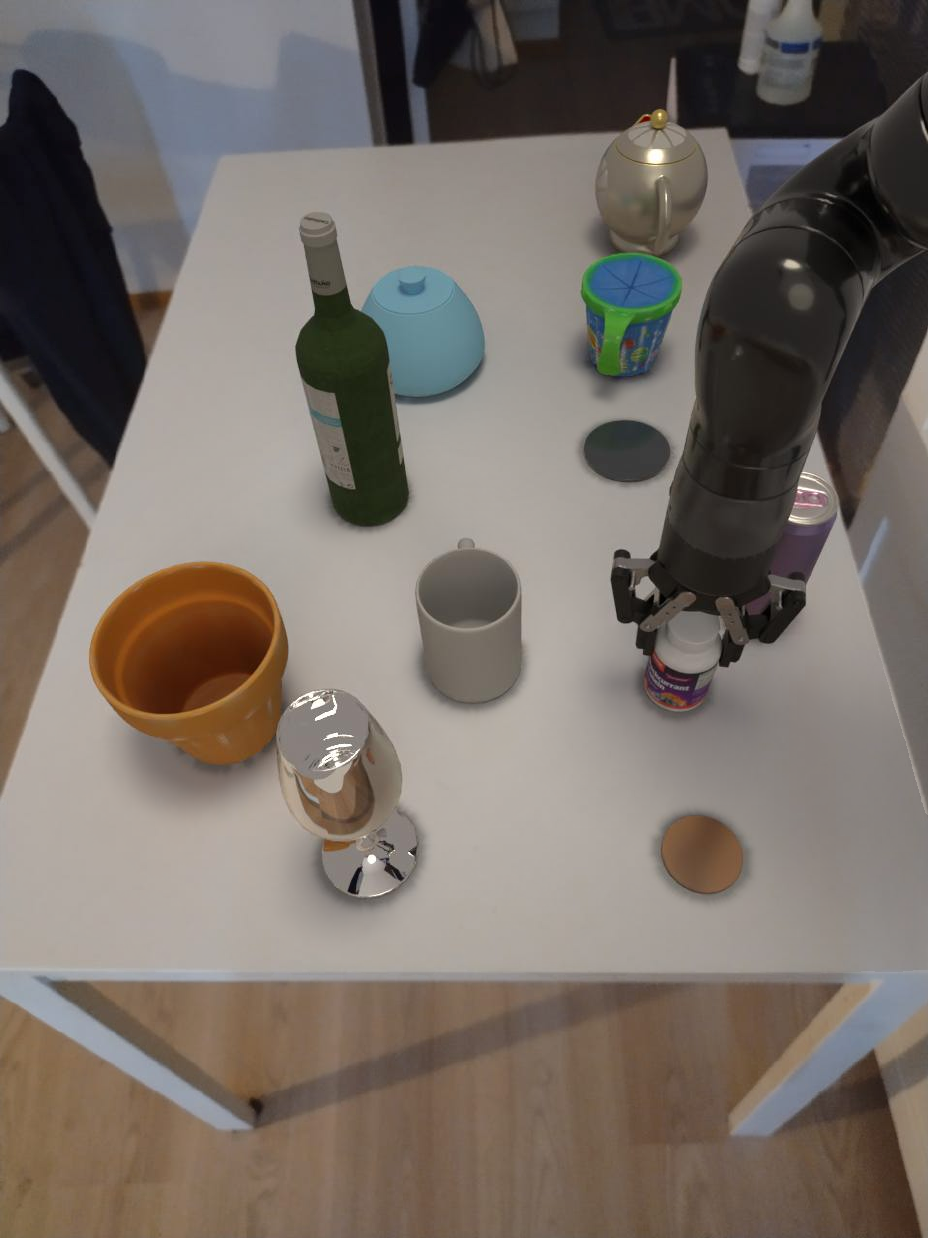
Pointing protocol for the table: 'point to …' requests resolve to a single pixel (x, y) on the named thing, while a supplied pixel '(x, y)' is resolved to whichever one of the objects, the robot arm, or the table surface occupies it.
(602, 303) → the sippy cup
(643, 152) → the teapot
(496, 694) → the mug
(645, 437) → the slate coaster
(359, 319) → the wine bottle
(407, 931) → the table surface
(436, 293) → the sugar bowl
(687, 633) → the pill bottle
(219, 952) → the table surface
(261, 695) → the flower pot
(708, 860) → the cork coaster
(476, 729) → the table surface
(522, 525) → the table surface
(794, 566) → the beverage can
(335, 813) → the wineglass
